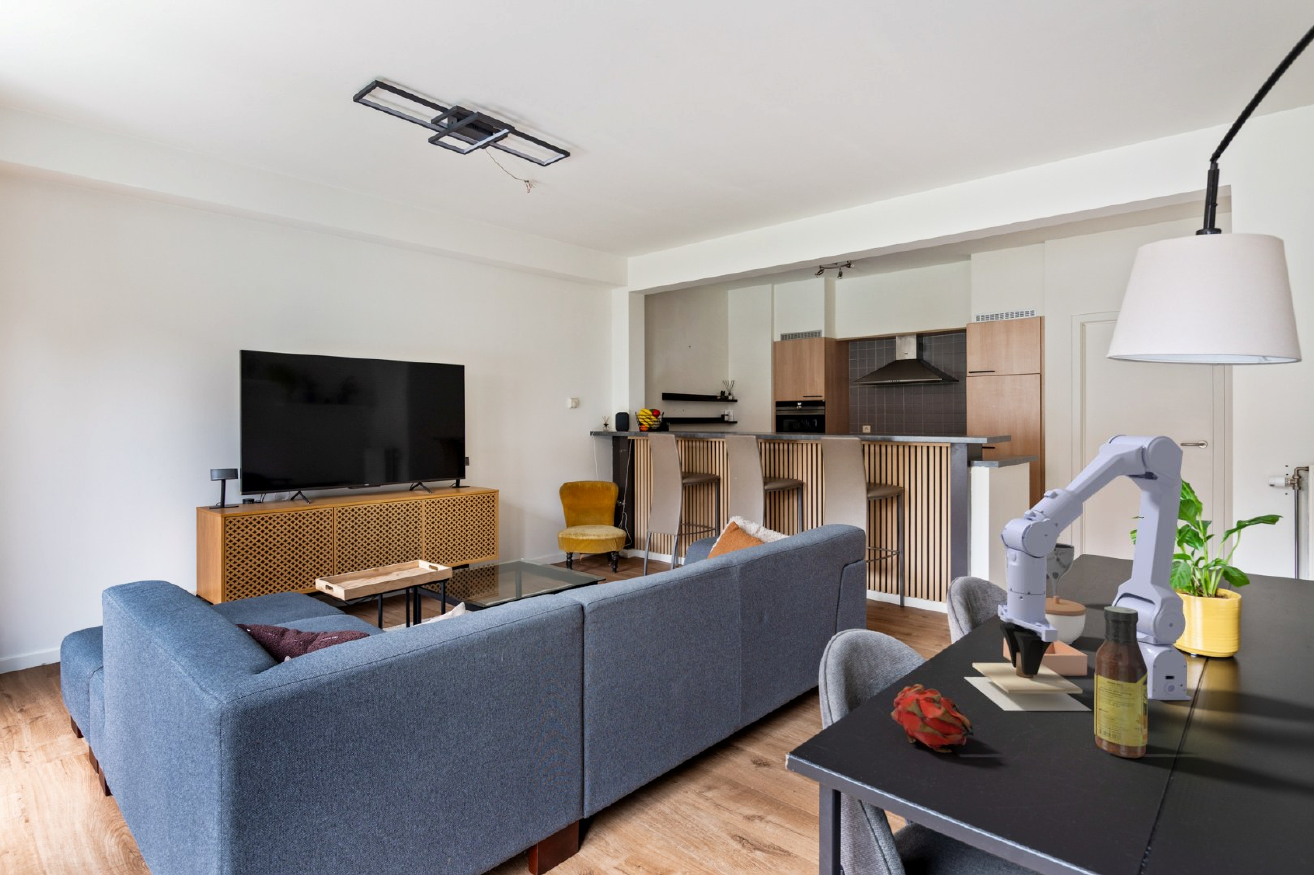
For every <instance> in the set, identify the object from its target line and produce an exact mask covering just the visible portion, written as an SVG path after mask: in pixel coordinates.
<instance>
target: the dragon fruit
mask: <svg viewBox="0 0 1314 875" xmlns="http://www.w3.org/2000/svg"><path fill="white" fill-rule="evenodd" d="M893 707H894V709H893V711H891V713H890V714H889V716H890V717H891V719H892V721H894V722H897V724H899V725H900V726H903V729H904V732H905V735H906V737H907V739H908V741H909V743H910V744H911V743H913V744H914V743H915V742H916V739H917V740H918V741H920V742H921V743H923V744H925V745H926V746H927V747H929V748H930V749H933V751H935V752H939V753H944V754H945V753H953V751H952V750H951V749H949V748H946V747H942V746H943V745H944V746H945V745H946V746H948V745H959V744H960V745H963V746H964V745H965V744H966V742H967V736H971V737H974V736H975V734H974V731H973V730H974V729H977V728H974V727H973V726H972V724H971V721H970V720H969V719H968V718H967V717H966V716H965V715H964V714H963V712H961V711H960V706H959V705H958V704H957V703H956V702H955V701H953V700H951V699H950V698H946V697H942V694H941V693H940V691H938V689H935V688H933V687H931V688H928V689H926V688H925V686H924V685H923V684H921V683H920V684H919V683H915V684H914V685H912V686H908V685H906V686H905V687H904V688H903V689H902V690H901V691H900V692H898V694H897V696H896V698H895V699H894V701H893ZM954 708H955V710H954ZM971 730H972V731H971Z"/></svg>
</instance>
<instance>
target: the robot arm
mask: <svg viewBox="0 0 1314 875" xmlns="http://www.w3.org/2000/svg"><path fill="white" fill-rule="evenodd" d="M1183 454H1184V450H1183V449H1182V448H1181V447H1180V446H1179V445H1178V443H1176V442H1175V440H1173V439H1172V438H1171V437H1168V436H1166V435H1156V436H1155V435H1154V436H1149V435H1126V434H1115V435H1113V436H1111V437H1110V438H1109V439H1108V440H1107V441H1106V442H1105V443H1103V444H1102V445H1100V446H1099V449H1098V454H1097V455H1096V456H1095V458H1093V460H1092V461H1091V462H1090V463H1089V464H1088V465H1087V466H1086V467H1085V468H1084V469H1083V470H1082V471H1081V472H1080V473H1079V474H1078V475H1077V476H1076V477H1075V478H1074V479H1073V480H1072V481H1071V482H1070V483H1069V484H1068V485H1067V487H1065V488H1064V489H1063V488H1055V489H1052V490H1047V491H1046V492H1045V493H1044V494H1043V498H1042V499H1041V500H1040V501H1038V502H1037V503H1036V504H1035V505H1034V506H1033V507H1032V508H1031V509H1028V510H1026V511H1025V512H1024V513H1023V514H1024V515H1023V516H1022V517H1017V518H1016V517H1015V518H1012V519H1011V520H1010V521H1008V523H1006V524H1005V526H1004V527H1003V531H1002V532H1001V533H1000V534H999V536H1000V541H1001V543H1002V545H1003V546H1004V548H1005V551H1006V552H1005V553H1006V557H1007V598H1006V601H1007V602H1006V603H1007V604H998V605H997V616H998V617H1000V618H999V619H1000V620H1001V621H1003V622H1005V623H1000V624H999V629H1000V631H1001V632H1002V634H1003V638H1005V639H1006V642H1007V645H1008V648H1009V652H1010V657H1011V661H1012V662H1011V661H1010V662H1011V663H1012V665H1013V667H1014V668H1016V655H1017V652H1020V654H1021V666H1022V671H1023V674H1025V675H1037V674H1038V671H1039V668H1040V664H1041V661H1042V658H1043V656H1044V654H1045V652H1046V650H1047V648H1048V647H1049V646H1050V644H1051V643H1052V642H1057V631H1058V630H1057V629H1055V628H1054V627H1052V625H1051V624H1050V623H1049V621H1048V620H1047V619H1046V618H1045V614H1046V598H1047V573H1046V567H1047V554H1049V553H1051V552H1052V551H1053V550H1054V548H1055V546H1056V543H1057V541H1058V538H1059V537H1060V535H1061V533H1062V532H1063V531H1065V529H1067V528H1068V527H1069V526H1070V525H1071V524H1072V523H1074V521H1076V520H1077V519H1078V518H1079V517H1080V516H1081V515H1082V514H1083V512H1084V506H1083V505H1084V504H1083V503H1084V502H1086V501H1087V500H1089V499H1090V498H1091V497H1093V496H1094V495H1095V494H1097V493H1098V492H1099V491H1100V490H1102V489H1103V488H1105V487H1106V486H1107V485H1108V484H1110V483H1111V482H1112V481H1113V480H1115V479H1116V478H1117V477H1120V476H1125V477H1127V478H1128V479H1130V480H1132V481H1133V483H1134V484H1135V485H1136V486H1137V487H1138V488H1139V489H1140V490H1141V496H1140V503H1139V505H1140V506H1139V513H1138V520H1137V527H1136V528H1137V529H1136V537H1135V545H1134V552H1133V561H1132V562H1133V563H1132V570H1131V578H1130V579H1128V580H1127V581H1125V582H1123V583H1122V584H1120V585H1119V586H1118V589H1117V590H1118V591H1117V594H1116V596H1115V598H1114V600H1113V602H1112V603H1111V606H1118V607H1125V608H1130V609H1134V610H1136V611H1137V612H1138V619H1139V620H1138V622H1137V642H1138V644H1139V647H1140V650H1141V653H1142V656H1143V658H1144V661H1145V664H1146V667H1147V670H1148V678H1147V681H1148V683H1147V688H1148V689H1147V691H1148V700H1158V701H1192V696H1190V695H1188V694H1187V690H1188V689H1187V688H1188V662H1187V658H1186V657H1185V655H1184V653H1182V652H1180V651H1179V650H1178V649H1177V648H1176V647H1175V645H1174V644H1177V641H1178V640H1179V639H1180V638H1181V637H1182V635H1184V632H1185V629H1186V623H1187V622H1186V617H1185V614H1184V600H1183V599H1182V597H1181V595H1179V593H1177V592H1176V590H1174V588H1173V587H1172V586H1171V579H1172V578H1171V576H1172V569H1173V562H1174V561H1173V560H1174V553H1175V545H1176V537H1177V530H1178V529H1177V528H1178V521H1179V514H1180V513H1179V512H1180V506H1181V505H1180V504H1181V497H1182V496H1181V495H1182V488H1183V480H1182V475H1181V473H1182V472H1181V470H1182V463H1183ZM1139 517H1144V518H1143V519H1141V518H1139Z"/></svg>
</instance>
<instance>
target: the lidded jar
mask: <svg viewBox="0 0 1314 875" xmlns="http://www.w3.org/2000/svg"><path fill="white" fill-rule="evenodd" d="M1086 614H1087V607H1086V606H1085V605H1083V604H1081V603H1079V602H1076V601H1071V600H1067V599H1062V598H1060V596H1059V595H1057V596H1054V598H1053V597H1046V614H1045V618H1046V619H1047V620H1048V621H1049V623H1050V624H1051V625H1052V627H1054V628H1055V629H1057V630H1058V631H1057V640H1059V641H1061V642H1063V643H1065V644H1067V645H1069V646H1070V645H1072V644H1073V642H1074V641H1076V640H1077V639H1078V638H1080V636H1081V635H1082V633H1083V631H1084V628H1085V625H1086V624H1085V622H1086Z"/></svg>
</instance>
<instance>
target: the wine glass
mask: <svg viewBox="0 0 1314 875" xmlns="http://www.w3.org/2000/svg"><path fill="white" fill-rule="evenodd" d="M1074 560H1075V546H1074V545H1072V544H1068V543H1060V542H1056V546H1055V548H1054V550H1053V551H1052V552H1051V553H1049V554H1047V567H1046V575H1048V577H1049V579H1050V580H1051V583H1052V598H1054V596H1058V586H1059V582H1060V580H1061V579H1062V577H1064V576H1065V575H1066V574H1067V573H1068V572H1070V570H1071V569H1072V566H1073V564H1074Z"/></svg>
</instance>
